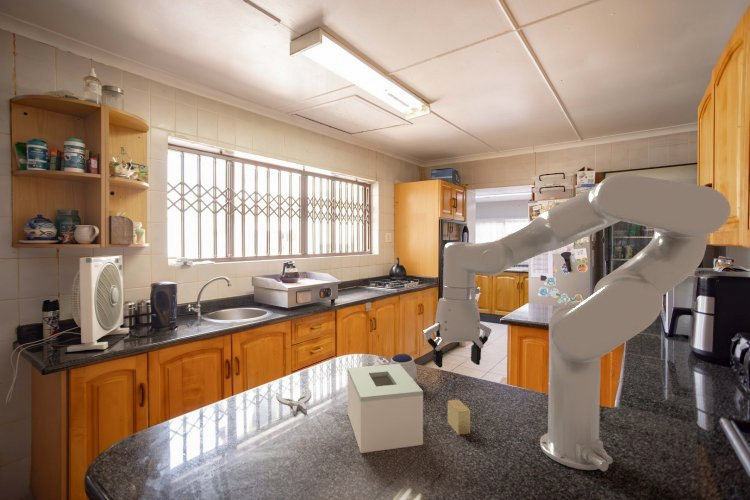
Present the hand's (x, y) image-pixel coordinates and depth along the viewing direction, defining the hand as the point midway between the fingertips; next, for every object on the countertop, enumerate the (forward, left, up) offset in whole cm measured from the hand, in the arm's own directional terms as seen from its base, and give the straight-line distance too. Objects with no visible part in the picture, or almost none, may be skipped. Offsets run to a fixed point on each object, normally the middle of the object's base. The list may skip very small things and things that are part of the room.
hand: (456, 364), depth 87 cm
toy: (+27, +11, -16) cm, 33 cm away
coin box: (+4, +18, -15) cm, 24 cm away
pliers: (+23, +38, -16) cm, 47 cm away
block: (0, 0, -15) cm, 15 cm away
